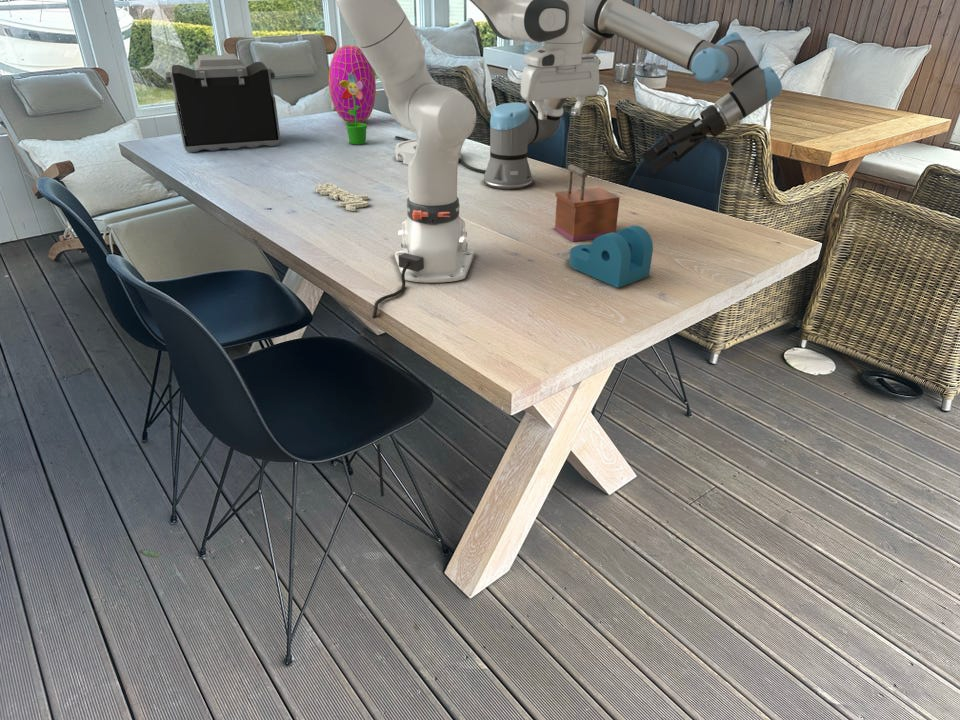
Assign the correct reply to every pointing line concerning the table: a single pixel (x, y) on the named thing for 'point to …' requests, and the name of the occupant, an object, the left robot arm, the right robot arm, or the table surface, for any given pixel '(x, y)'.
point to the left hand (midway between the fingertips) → (559, 117)
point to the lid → (584, 192)
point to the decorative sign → (343, 196)
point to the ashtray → (407, 150)
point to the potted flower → (354, 129)
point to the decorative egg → (340, 66)
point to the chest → (586, 220)
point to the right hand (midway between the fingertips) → (647, 165)
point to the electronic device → (225, 104)
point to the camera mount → (615, 256)
